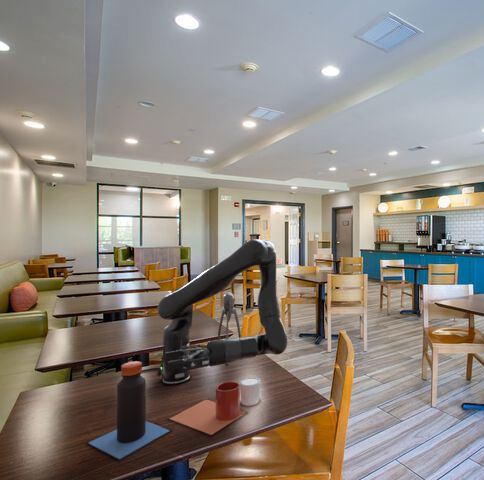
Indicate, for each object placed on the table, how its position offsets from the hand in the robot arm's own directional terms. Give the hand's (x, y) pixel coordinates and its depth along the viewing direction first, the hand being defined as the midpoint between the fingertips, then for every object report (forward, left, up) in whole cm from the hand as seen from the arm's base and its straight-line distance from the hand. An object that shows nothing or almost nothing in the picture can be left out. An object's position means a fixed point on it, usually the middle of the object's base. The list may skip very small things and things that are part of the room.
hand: (166, 361), depth 100 cm
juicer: (-27, +48, -20) cm, 59 cm away
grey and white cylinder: (+10, +23, -20) cm, 32 cm away
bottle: (-4, -8, -19) cm, 21 cm away
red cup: (+10, +13, -19) cm, 26 cm away
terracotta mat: (+5, +10, -20) cm, 23 cm away
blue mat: (-5, -8, -20) cm, 22 cm away
